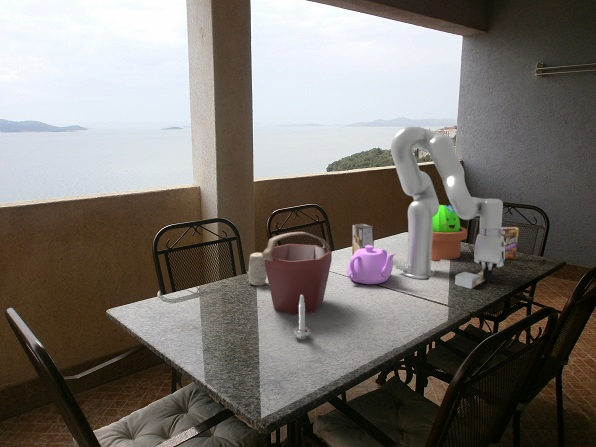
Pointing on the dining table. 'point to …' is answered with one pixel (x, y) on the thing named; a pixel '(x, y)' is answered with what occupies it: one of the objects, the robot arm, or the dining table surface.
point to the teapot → (370, 265)
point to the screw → (301, 321)
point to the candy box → (510, 241)
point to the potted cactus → (447, 234)
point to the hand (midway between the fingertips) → (487, 279)
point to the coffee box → (362, 236)
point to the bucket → (297, 273)
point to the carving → (257, 269)
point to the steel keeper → (466, 279)
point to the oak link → (479, 279)
